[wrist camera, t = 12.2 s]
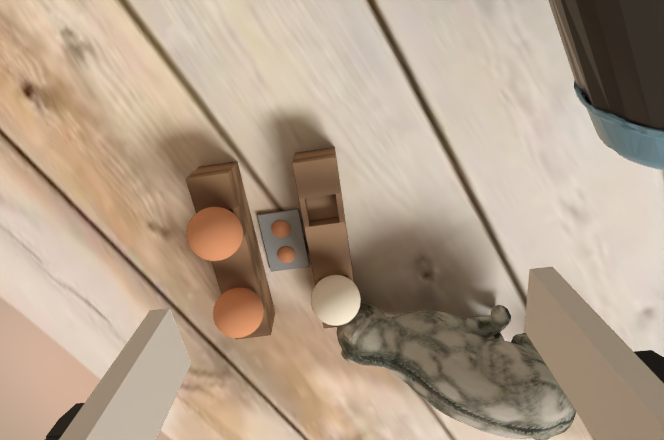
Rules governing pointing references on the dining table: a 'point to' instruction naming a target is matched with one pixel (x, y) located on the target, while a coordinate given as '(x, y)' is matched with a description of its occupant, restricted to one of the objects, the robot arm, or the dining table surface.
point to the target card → (283, 239)
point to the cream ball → (335, 300)
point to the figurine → (464, 368)
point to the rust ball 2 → (238, 312)
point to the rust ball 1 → (214, 233)
